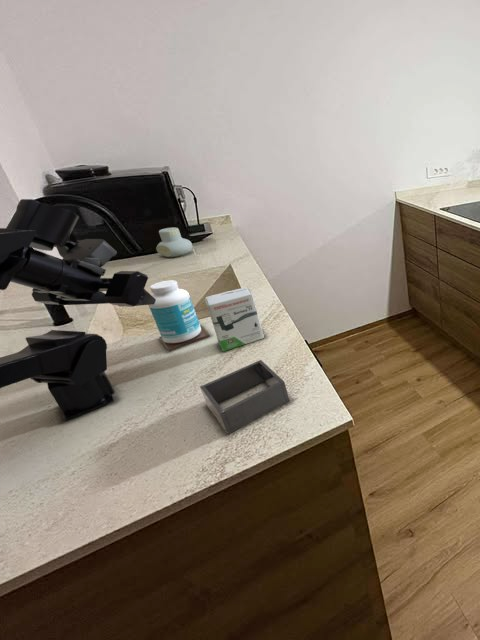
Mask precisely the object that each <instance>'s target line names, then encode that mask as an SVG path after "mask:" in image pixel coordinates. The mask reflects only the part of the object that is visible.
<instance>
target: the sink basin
mask: <svg viewBox="0 0 480 640" xmlns="http://www.w3.org/2000/svg"><path fill="white" fill-rule="evenodd" d="M264 382H265V383H266V384H267V385H268V387H265V388H264V389H261V390H260V391H258V392H256V393H254V394H252V395H250V396H248V397H246V398H244V399H241V400H240V401H237V402H236V403H234V404H231V405H230V406H228V407H225V408H222V407H221V406H220V403H222V402H223V401H227V400H228V399H230V398H233V397H234V396H237V395H238V394H241V393H242V392H245V391H247V390H248V389H250V388H253V387H255V386H257V385H259V384H261V383H264ZM285 382H286V381H284V380H283V378H281V377H280V376H279V375H278V374H277V373H276V372H275V371H273V370H272V368H271V367H269V366H268V365H267V364H266V363H265V362H264V361H263V360H261V359H260V360H257V361H256V362H253V363H251V364H248V365H246V366H243V367H241V368H239V369H237V370H234V371H232V372H230V373H227V374H226V375H223V376H221V377H218V378H216V379H214V380H212V381H210V382H208V383H205V384H203V385H200V386H199V388H200V391H201V393H202V396H203V398H204V402H205V403H206V406H207V408H208V409H209V411H210V412H211V414H212V415H213V416H214V417H215V419H216V420H217V422H218V423H219V424H220V426H221V428H222V429H223V430H224V432H225V433H226V434H227V435H230V434H232V433H233V432H235V431H237V430H239V429H241V428H243V427H244V426H246V425H248V424H250V423H252V422H254V421H255V420H257V419H259V418H261V417H263V416H264V415H267V414H268V413H270V412H272V411H274V410H276V409H278V408H279V407H282V406H283V405H285V404H287V403H289V402H290V397H289V393H288V390H287V385H286V383H285Z"/></svg>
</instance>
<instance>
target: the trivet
mask: <svg viewBox="0 0 480 640" xmlns="http://www.w3.org/2000/svg"><path fill="white" fill-rule="evenodd" d="M200 327H201V332H200V333H199V334H198V335H197V336H196V337H194V338H192V339H190V340H187V341H184V342H180V343H166V342H164V341H163V339H162V337H161V336H159V339H160V341H161V343H162V344H163V345H164V346H165V348H166V350H167V351H168V352H172V351H174V350H176V349H180V348H182V347H185V346H187V345H190V344H193V343H196V342H199V341H202V340H204V339H207V338H210V336H211V335H210V333H208V331H207V330H206V329H205V328H204V327H203V326H202V325H201V324H200Z"/></svg>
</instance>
